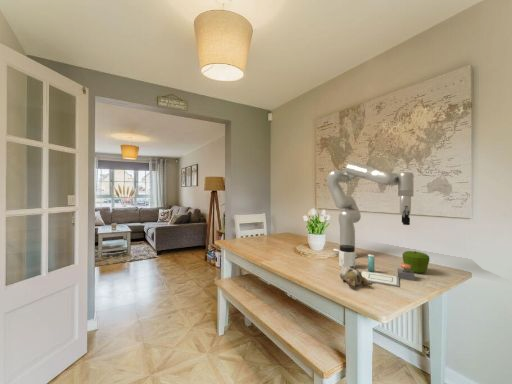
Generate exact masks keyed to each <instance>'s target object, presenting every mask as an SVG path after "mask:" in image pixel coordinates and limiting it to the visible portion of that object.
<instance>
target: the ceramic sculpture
mask: <svg viewBox="0 0 512 384" xmlns="http://www.w3.org/2000/svg"><path fill="white" fill-rule="evenodd" d="M360 271H361V270H360ZM360 271H359V270H358V269H356V267H355V268H354V267H353V266H350V267H347V266H345V265H343V266H342V267H341V268H340V271H339V272H340V273H339V277H340V279H341V281H344V282H346V283H347V285H348V286H349V287H352V288H356V286H359V285H363V286H373V283H372V282H369V281H368V280H367V279H366V278H365V277H362V275H361V272H360Z"/></svg>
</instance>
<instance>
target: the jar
mask: <svg viewBox="0 0 512 384" xmlns="http://www.w3.org/2000/svg"><path fill="white" fill-rule="evenodd" d="M339 249H340V250H339V256H338V260H339V261H338V266H339V267H341V268H342V266H343V265H345V266H347V267H350V266H353V267H354V268H355V269H356V258H355V254H356V246H355V247H354V246H351V245H340V244H339Z"/></svg>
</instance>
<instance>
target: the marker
mask: <svg viewBox="0 0 512 384" xmlns="http://www.w3.org/2000/svg"><path fill="white" fill-rule="evenodd" d="M375 258H376V257H375V255H374V254H371V253H370V254H367V272H373V273H374V272H375Z"/></svg>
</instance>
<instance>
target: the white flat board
mask: <svg viewBox="0 0 512 384" xmlns="http://www.w3.org/2000/svg"><path fill="white" fill-rule="evenodd" d="M360 272H361V275H362V277H365V278H366V279H367V280H368V281H369V282H370V283H372V284H373V283H374V284H379V285H384V286H390V287H391V286H392V287H395V288H396V287H397V288H400V279H399V277H398V275H392V274H387V273H386V274H385V273H382V272H375V271H374V273H373V272H368V271H366V270H360Z"/></svg>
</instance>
